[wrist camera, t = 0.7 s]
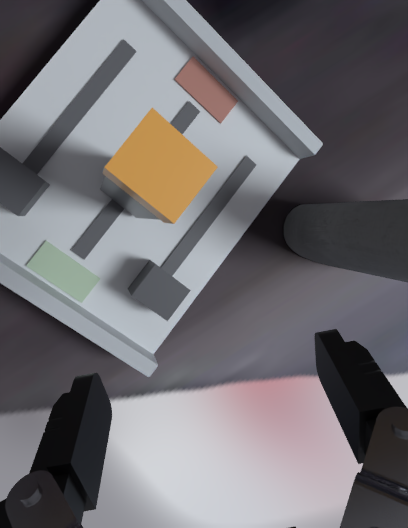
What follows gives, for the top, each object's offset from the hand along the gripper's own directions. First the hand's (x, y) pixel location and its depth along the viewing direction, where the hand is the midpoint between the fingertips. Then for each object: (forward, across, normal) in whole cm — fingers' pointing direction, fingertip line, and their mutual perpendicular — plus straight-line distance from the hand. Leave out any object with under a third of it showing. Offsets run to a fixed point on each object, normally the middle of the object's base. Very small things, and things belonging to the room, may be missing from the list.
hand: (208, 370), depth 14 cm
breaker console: (+22, +4, -2) cm, 23 cm away
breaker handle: (+19, +4, -2) cm, 20 cm away
